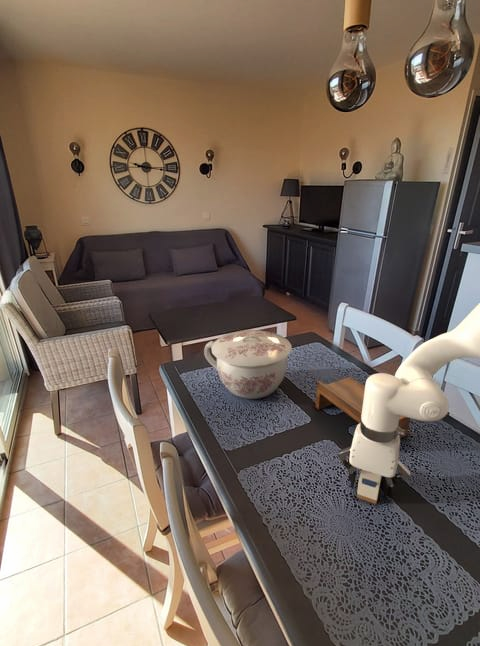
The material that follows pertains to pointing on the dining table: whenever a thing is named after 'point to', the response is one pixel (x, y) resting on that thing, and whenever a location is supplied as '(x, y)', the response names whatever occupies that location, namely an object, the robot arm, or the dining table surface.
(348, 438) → the dining table surface
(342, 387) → the shoe shelf
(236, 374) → the chamber pot
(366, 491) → the slotted cream box
